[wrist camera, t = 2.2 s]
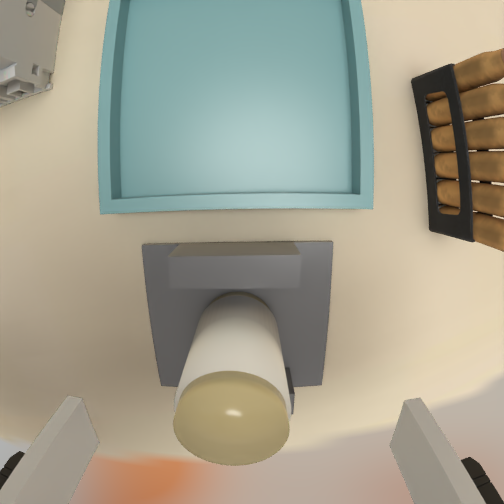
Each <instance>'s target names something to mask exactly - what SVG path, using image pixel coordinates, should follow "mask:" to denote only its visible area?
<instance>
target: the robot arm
mask: <svg viewBox="0 0 504 504" xmlns="http://www.w3.org/2000/svg"><path fill="white" fill-rule="evenodd" d="M99 443H100V442H99V440H98V438H97V435H96V433H95V430H94V428H93V425H92V423H91V420H90V418H89V415H88V412H87V410H86V407H85V404H84V402H83V399H82V398H78V397H73V396H69V395H68V396H67V397H66V399H65V400H64V401H63V402H62V404H61V405H60V406H59V408H58V409H57V410H56V412H55V413H54V414H53V416H52V417H51V418H50V420H49V421H48V423H47V424H46V425H45V427H44V428H43V429H42V431H41V432H40V433H39V435H38V436H37V438H36V439H35V440H34V442H33V443H32V445H31V446H30V447H29V449H28V450H27V452H26V453H23V452H21V451H19V452H18V453H16V454H15V455H13V456H12V457H10V459H9V460H8V461H7V463H6V464H5V465H4V468H2V470H1V471H0V504H69V502H70V500H71V498H72V496H73V494H74V492H75V490H76V487H77V486H78V484H79V481H80V480H81V477H82V476H83V474H84V472H85V470H86V468H87V466H88V464H89V462H90V460H91V458H92V456H93V454H94V452H95V450H96V448H97V447H98V445H99ZM390 448H391V450H392V452H393V455H394V457H395V459H396V461H397V464H398V466H399V469H400V471H401V473H402V475H403V478H404V480H405V483H406V485H407V487H408V490H409V492H410V494H411V497H412V499H413V502H414V504H504V502H503V500H502V499H501V497H500V495H499V494H498V492H497V490H496V489H495V487H494V486H493V484H492V483H491V482H490V479H489V478H488V476H487V475H486V473H485V471H484V470H483V468H482V467H481V465H480V464H479V463H478V462H477V461H475V460H474V459H472V458H471V457H468V458H465V459H463V460H460V459H459V457H458V456H457V454H456V452H455V451H454V449H453V447H452V446H451V444H450V443H449V441H448V440H447V438H446V436H445V435H444V433H443V432H442V430H441V428H440V427H439V425H438V424H437V422H436V421H435V419H434V418H433V416H432V414H431V413H430V411H429V410H428V408H427V407H426V405H425V404H424V402H423V401H422V399H421V398H416V399H410V400H405V401H404V404H403V407H402V410H401V413H400V416H399V419H398V422H397V425H396V428H395V431H394V434H393V437H392V440H391V443H390Z"/></svg>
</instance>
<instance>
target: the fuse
mask: <svg viewBox="0 0 504 504" xmlns="http://www.w3.org/2000/svg"><path fill="white" fill-rule="evenodd" d="M174 412H175V416H174V420H173V427H174V432H175V435H176V437H177V439H178V440H179V442H180V443H181V444H182V445H183V446H184V447H185V448H186V449H187V450H188V451H189V452H191V453H192V454H194V455H195V456H197V457H199V458H201V459H204V460H206V461H209V462H212V463H216V464H221V465H231V466H232V465H233V466H236V465H237V466H238V465H248V464H253V463H257V462H260V461H263V460H265V459H267V458H269V457H271V456H272V455H274V454H275V453H277V452H278V451H279V450H280V449H281V448H282V447H283V446H284V444H285V442H286V441H287V438H288V436H289V420H290V417H291V402H290V396H289V390H288V384H287V379H286V373H285V367H284V361H283V355H282V350H281V344H280V338H279V332H278V327H277V322H276V319H275V317H274V315H273V314H272V312H271V311H270V309H269V307H268V306H267V305H266V303H265V302H264V301H262V300H261V299H260V298H258V297H257V296H255V295H253V294H250V293H246V292H229V293H226V294H223V295H221V296H219V297H217V298H216V299H215V300H213V301H212V302H211V304H210V305H209V306H208V307H207V308H206V309H205V310H204V312H203V314H202V315H201V317H200V320H199V323H198V326H197V329H196V332H195V335H194V338H193V341H192V344H191V348H190V351H189V354H188V357H187V360H186V363H185V366H184V369H183V373H182V376H181V379H180V382H179V385H178V388H177V392H176V395H175V399H174Z"/></svg>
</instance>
